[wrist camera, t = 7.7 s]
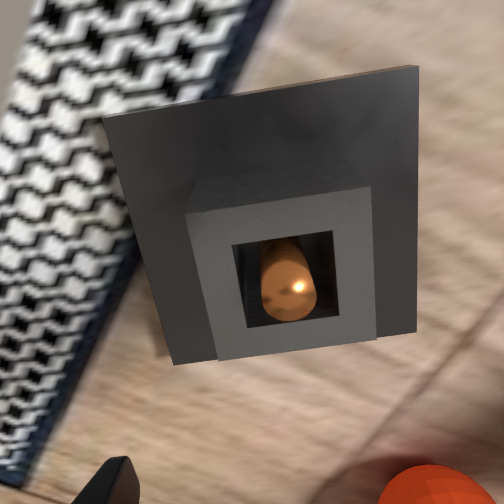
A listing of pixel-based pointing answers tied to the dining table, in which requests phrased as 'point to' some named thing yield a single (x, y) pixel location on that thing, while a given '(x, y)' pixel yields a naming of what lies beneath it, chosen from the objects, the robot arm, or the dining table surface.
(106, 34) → the dining table surface
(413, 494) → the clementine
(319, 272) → the grey hollow block
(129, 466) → the robot arm
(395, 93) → the grey socket block
